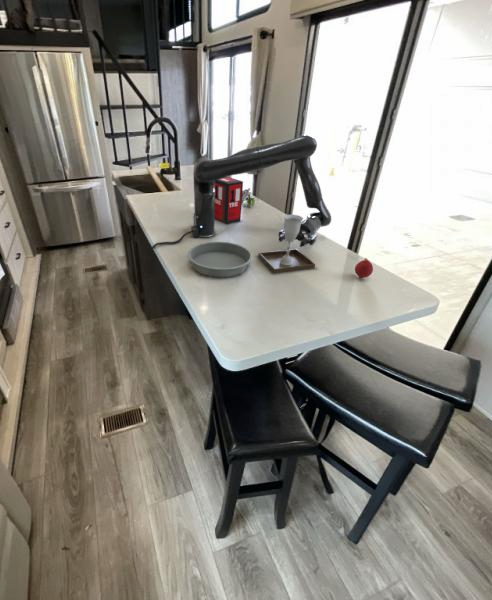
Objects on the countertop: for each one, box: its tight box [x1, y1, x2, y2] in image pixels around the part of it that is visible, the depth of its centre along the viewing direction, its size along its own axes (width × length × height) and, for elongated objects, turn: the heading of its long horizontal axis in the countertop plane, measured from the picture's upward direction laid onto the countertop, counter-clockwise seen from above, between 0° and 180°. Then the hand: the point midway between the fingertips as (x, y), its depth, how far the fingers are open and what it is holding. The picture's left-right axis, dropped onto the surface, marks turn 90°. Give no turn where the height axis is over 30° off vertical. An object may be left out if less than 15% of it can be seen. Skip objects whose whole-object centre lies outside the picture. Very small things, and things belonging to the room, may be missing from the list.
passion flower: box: [242, 187, 259, 209], centre depth 189 cm, size 11×11×12 cm
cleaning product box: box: [214, 176, 244, 225], centre depth 165 cm, size 16×9×20 cm, turn 34°
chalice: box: [280, 214, 304, 265], centre depth 121 cm, size 7×7×18 cm
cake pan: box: [187, 241, 253, 278], centre depth 123 cm, size 25×25×4 cm
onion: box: [354, 257, 374, 280], centre depth 114 cm, size 6×6×8 cm
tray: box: [257, 248, 316, 274], centre depth 126 cm, size 17×15×2 cm
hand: (290, 241), depth 122 cm, fingers open, 8 cm apart
